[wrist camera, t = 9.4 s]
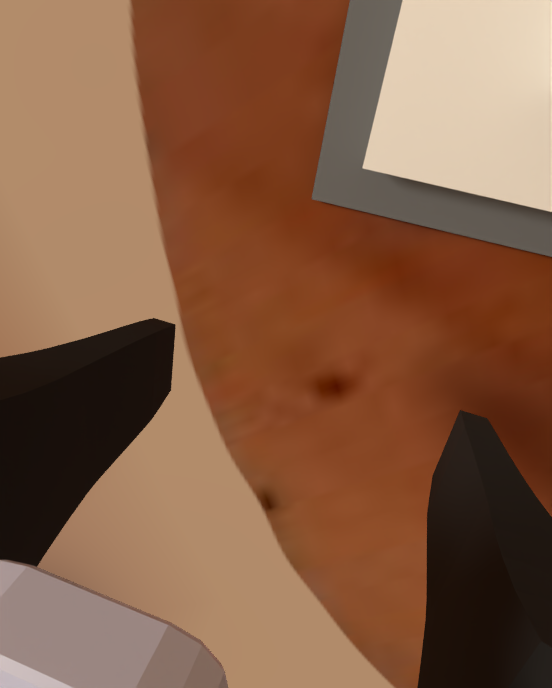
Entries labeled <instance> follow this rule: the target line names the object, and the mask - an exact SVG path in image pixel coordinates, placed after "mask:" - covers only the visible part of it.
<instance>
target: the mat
mask: <svg viewBox="0 0 552 688" xmlns="http://www.w3.org/2000/svg"><path fill="white" fill-rule="evenodd" d="M402 1H403V0H350V3H349V8H348V13H347V19H346V24H345V29H344V34H343V39H342V44H341V50H340V55H339V60H338V65H337V70H336V75H335V81H334V86H333V91H332V96H331V101H330V107H329V112H328V117H327V122H326V127H325V132H324V138H323V143H322V148H321V153H320V158H319V163H318V169H317V174H316V179H315V184H314V189H313V194H312V199H313V200H318V201H322V202H326V203H330V204H334V205H338V206H342V207H347V208H351V209H355V210H359V211H363V212H367V213H372V214H376V215H380V216H384V217H388V218H392V219H397V220H401V221H405V222H409V223H413V224H417V225H421V226H426V227H430V228H434V229H438V230H442V231H446V232H451V233H455V234H459V235H463V236H467V237H471V238H475V239H480V240H484V241H488V242H492V243H496V244H500V245H505V246H509V247H513V248H517V249H521V250H525V251H529V252H534V253H538V254H542V255H546V256H550V257H552V212H550V211H545V210H541V209H537V208H532V207H528V206H524V205H519V204H515V203H511V202H506V201H502V200H498V199H493V198H489V197H485V196H480V195H476V194H472V193H467V192H463V191H459V190H454V189H450V188H446V187H441V186H437V185H433V184H428V183H424V182H420V181H415V180H411V179H407V178H402V177H398V176H394V175H389V174H385V173H381V172H376V171H372V170H368V169H363V163H364V159H365V155H366V151H367V147H368V143H369V138H370V134H371V130H372V126H373V122H374V117H375V113H376V109H377V105H378V101H379V97H380V92H381V88H382V84H383V80H384V76H385V72H386V67H387V63H388V59H389V55H390V51H391V47H392V42H393V38H394V34H395V30H396V26H397V22H398V17H399V13H400V9H401V5H402Z"/></svg>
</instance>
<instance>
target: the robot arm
mask: <svg viewBox="0 0 552 688" xmlns="http://www.w3.org/2000/svg"><path fill="white" fill-rule="evenodd" d="M174 339H175V324H172V323H168V322H165V321H162V320H158V319H155V318H153V319H148V320H144V321H140V322H137V323H133V324H130V325H126V326H123V327H120V328H117V329H114V330H110V331H107V332H104V333H101V334H98V335H94V336H91V337H88V338H85V339H81V340H77V341H74V342H69V343H66V344H62V345H58V346H55V347H51V348H47V349H43V350H38V351H34V352H29V353H24V354H18V355H13V356H7V357H1V358H0V688H228V685H227V680H226V676H225V671H224V669H223V667H222V665H221V663H220V662H219V661H218V660H217V658H216V657H215V656H214V655H213V654H212V653H211V651H209V649H208V648H207V647H206V646H205V645H204V643H203V642H202V641H201V640H199V639H197V638H196V637H194V636H192V635H191V634H189V633H188V632H186V631H184V630H183V629H181V628H179V627H177V626H176V625H174V624H172V623H171V622H168V621H166V620H163V619H161V618H159V617H156V616H154V615H151V614H149V613H146V612H144V611H142V610H139V609H137V608H134V607H132V606H130V605H127V604H125V603H122V602H120V601H118V600H115V599H113V598H110V597H108V596H105V595H103V594H101V593H98V592H96V591H93V590H91V589H89V588H86V587H84V586H81V585H79V584H77V583H74V582H72V581H69V580H67V579H64V578H62V577H60V576H57V575H55V574H52V573H50V572H48V571H45V570H43V569H40V568H38V567H37V566H38V564H39V563H40V561H41V559H42V558H43V556H44V555H45V553H46V552H47V550H48V549H49V547H50V546H51V544H52V543H53V541H54V540H55V538H56V537H57V535H58V534H59V533H60V531H61V530H62V528H63V527H64V525H65V524H66V522H67V521H68V519H69V518H70V516H71V515H72V514H73V512H74V511H75V510H76V508H77V507H78V505H79V504H80V503H81V501H82V500H83V498H84V497H85V495H86V494H87V493H88V492H89V490H90V489H91V488H92V487H93V485H94V484H95V483H96V481H98V479H99V478H100V477H101V476H102V475H103V474H104V473H105V471H106V470H107V469H108V468H109V467H110V466H111V465H112V464H113V463H114V461H115V460H116V459H117V458H118V457H119V456H120V454H122V452H123V451H124V450H125V449H126V448H127V447H128V446H129V445H130V443H131V442H132V441H133V440H134V439H135V438H136V437H137V436H138V435H139V433H140V432H141V431H142V430H143V429H144V428H145V427H146V425H147V424H148V423H149V422H150V421H151V419H152V418H153V417H154V415H155V414H156V412H157V410H158V409H159V408H160V406H161V405H162V403H163V402H164V400H165V398H166V397H167V395H168V394H169V392H170V391H171V380H172V366H173V352H174ZM418 688H552V517H551V516H550V515H549V513H548V512H547V511H546V509H545V508H544V507H543V505H542V504H541V502H540V501H539V500H538V498H537V497H536V496H535V494H534V493H533V491H532V490H531V488H530V487H529V486H528V484H527V483H526V481H525V480H524V478H523V477H522V475H521V473H520V472H519V470H518V469H517V467H516V466H515V464H514V462H513V461H512V459H511V458H510V456H509V454H508V453H507V451H506V449H505V447H504V446H503V444H502V442H501V441H500V439H499V437H498V436H497V434H496V432H495V430H494V429H493V427H492V425H491V424H490V422H489V420H488V419H487V418H484V417H481V416H478V415H474V414H471V413H468V412H464V411H461V410H460V412H459V414H458V417H457V419H456V421H455V424H454V426H453V429H452V431H451V433H450V436H449V438H448V440H447V443H446V445H445V448H444V450H443V452H442V455H441V457H440V460H439V462H438V464H437V467H436V469H435V471H434V474H433V477H432V484H431V490H430V497H429V505H428V512H427V604H426V622H425V630H424V639H423V648H422V657H421V665H420V673H419V681H418Z"/></svg>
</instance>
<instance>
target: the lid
mask: <svg viewBox="0 0 552 688" xmlns="http://www.w3.org/2000/svg"><path fill="white" fill-rule="evenodd" d="M363 169H368V170H372V171H376V172H381V173H385V174H389V175H394V176H398V177H402V178H407V179H411V180H415V181H420V182H424V183H428V184H433V185H437V186H441V187H446V188H450V189H454V190H459V191H463V192H467V193H472V194H476V195H480V196H485V197H489V198H493V199H498V200H502V201H506V202H511V203H515V204H519V205H524V206H528V207H532V208H537V209H541V210H545V211H550V212H552V0H403V1H402V5H401V9H400V13H399V17H398V22H397V26H396V30H395V34H394V38H393V42H392V47H391V51H390V55H389V59H388V63H387V67H386V72H385V76H384V80H383V84H382V88H381V92H380V97H379V101H378V105H377V109H376V113H375V117H374V122H373V126H372V130H371V134H370V138H369V143H368V147H367V151H366V155H365V159H364V163H363Z"/></svg>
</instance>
